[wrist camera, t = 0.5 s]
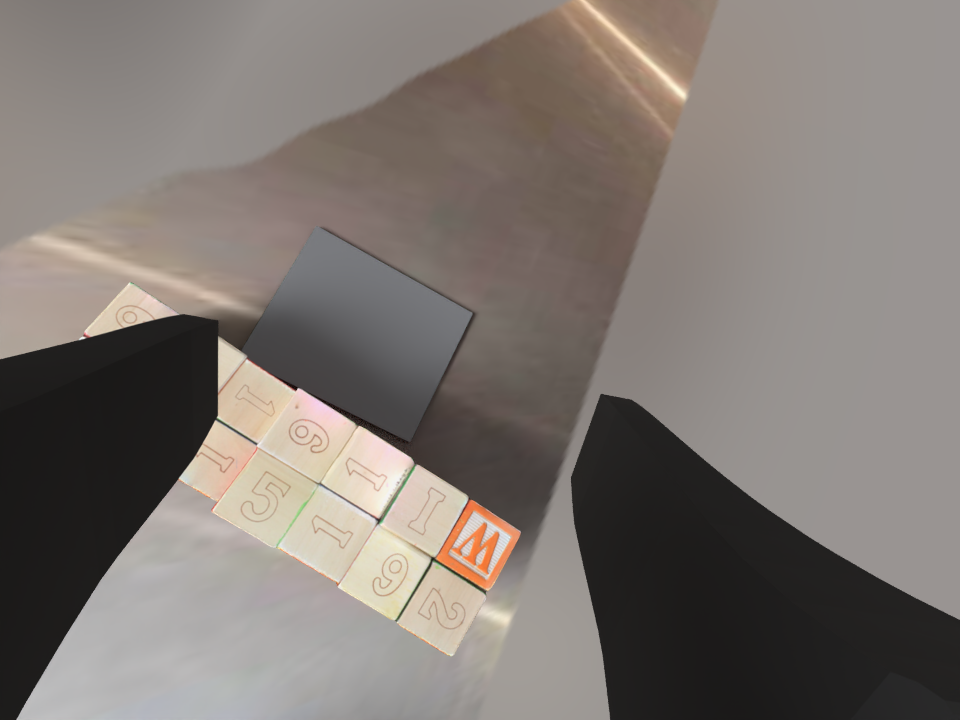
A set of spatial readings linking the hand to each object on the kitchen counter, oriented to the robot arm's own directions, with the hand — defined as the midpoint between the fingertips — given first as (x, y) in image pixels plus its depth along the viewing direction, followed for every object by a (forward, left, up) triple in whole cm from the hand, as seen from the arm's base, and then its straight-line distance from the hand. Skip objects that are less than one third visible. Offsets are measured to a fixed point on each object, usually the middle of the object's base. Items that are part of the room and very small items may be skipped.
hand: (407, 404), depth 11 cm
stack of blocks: (-2, +1, -27) cm, 27 cm away
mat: (+7, +1, -27) cm, 28 cm away
